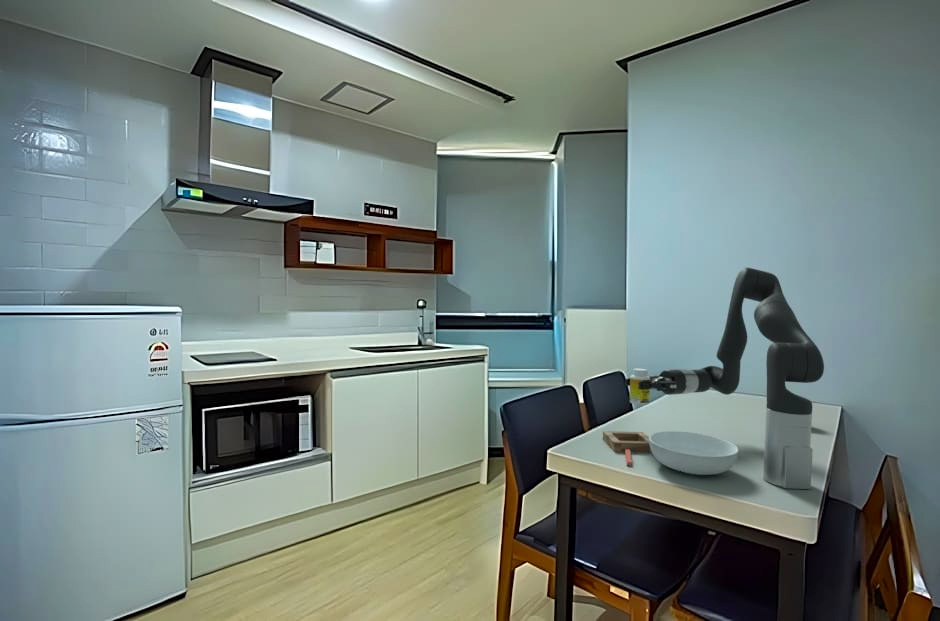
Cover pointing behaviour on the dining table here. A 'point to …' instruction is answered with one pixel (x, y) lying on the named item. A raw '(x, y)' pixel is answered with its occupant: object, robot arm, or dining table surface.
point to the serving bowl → (693, 452)
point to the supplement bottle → (638, 394)
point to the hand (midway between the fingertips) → (632, 383)
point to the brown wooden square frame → (627, 441)
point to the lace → (628, 457)
